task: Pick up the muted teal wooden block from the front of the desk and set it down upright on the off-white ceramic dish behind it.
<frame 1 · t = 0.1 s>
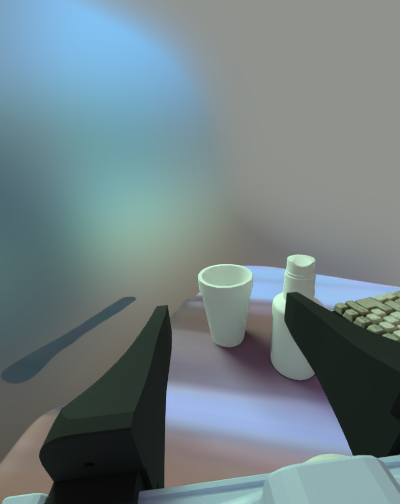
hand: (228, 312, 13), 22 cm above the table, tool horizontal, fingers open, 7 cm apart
foam cup: (227, 336, 42), on the table
spray bottle: (292, 363, 35), on the table
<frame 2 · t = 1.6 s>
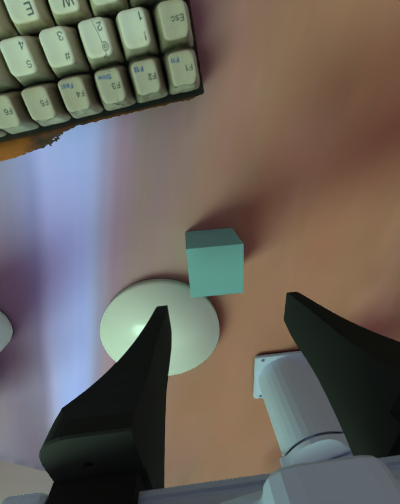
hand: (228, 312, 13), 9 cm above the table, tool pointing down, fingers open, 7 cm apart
dish: (162, 327, 25), on the table
teal block: (209, 250, 22), on the table
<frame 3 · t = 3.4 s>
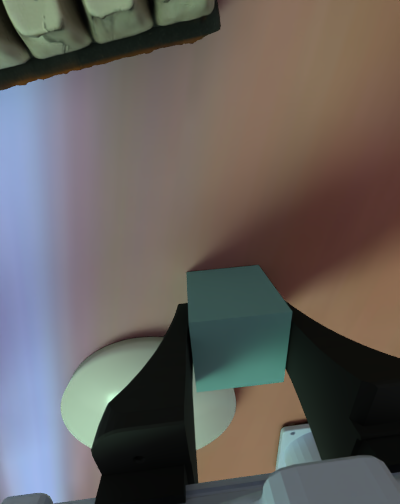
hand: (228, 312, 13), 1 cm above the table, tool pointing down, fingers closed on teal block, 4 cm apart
dish: (153, 397, 18), on the table
teal block: (223, 298, 14), on the table, touching gripper
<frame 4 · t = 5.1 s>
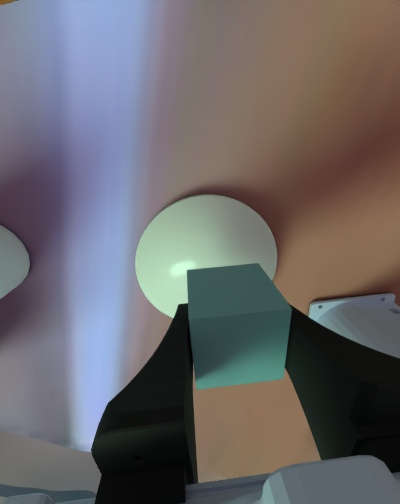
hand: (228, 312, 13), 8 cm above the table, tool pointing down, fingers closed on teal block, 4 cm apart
dish: (206, 262, 21), on the table
teal block: (223, 296, 14), point 7 cm above the table, touching gripper
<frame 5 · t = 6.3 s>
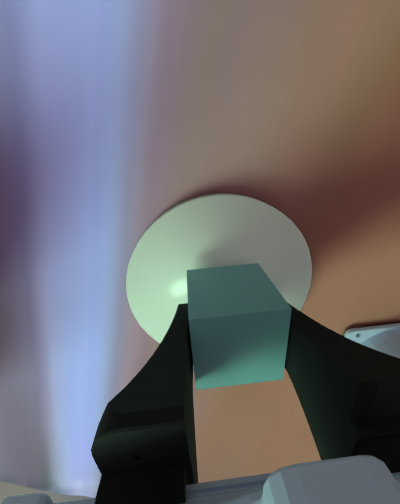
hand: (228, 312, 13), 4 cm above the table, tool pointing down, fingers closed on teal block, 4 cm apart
dish: (218, 281, 16), on the table
teal block: (223, 296, 14), point 2 cm above the table, touching gripper
when the fingers open (4 cm above the table, at t = 7.0 s): teal block stays where it is, resting on dish.
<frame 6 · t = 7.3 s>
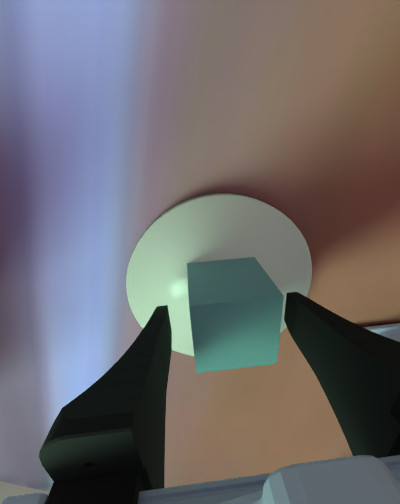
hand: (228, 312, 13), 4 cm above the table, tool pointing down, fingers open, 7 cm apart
dish: (218, 281, 16), on the table
teal block: (221, 288, 15), point 1 cm above the table, touching dish
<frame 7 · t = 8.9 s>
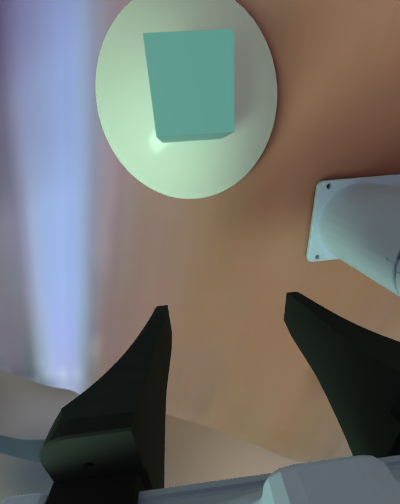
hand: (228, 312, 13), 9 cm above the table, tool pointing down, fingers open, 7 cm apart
dish: (188, 111, 17), on the table
teal block: (189, 106, 16), point 1 cm above the table, touching dish
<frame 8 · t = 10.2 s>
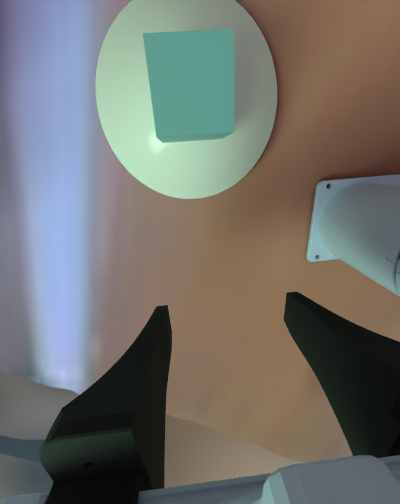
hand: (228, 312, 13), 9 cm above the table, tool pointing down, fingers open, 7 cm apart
dish: (188, 111, 17), on the table
teal block: (189, 106, 16), point 1 cm above the table, touching dish
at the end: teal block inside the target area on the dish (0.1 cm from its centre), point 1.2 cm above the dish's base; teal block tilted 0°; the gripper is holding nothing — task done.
